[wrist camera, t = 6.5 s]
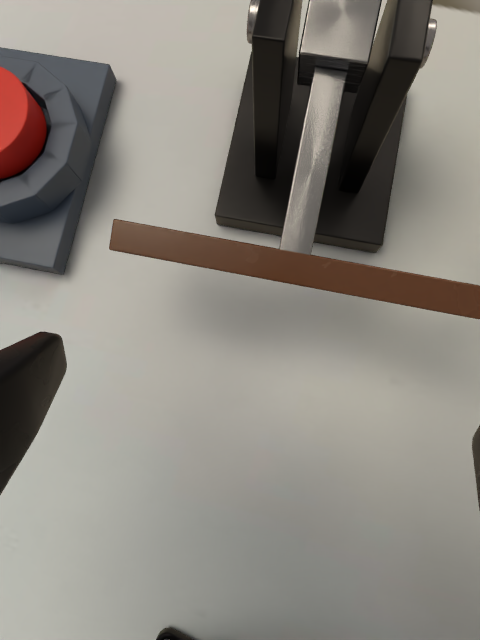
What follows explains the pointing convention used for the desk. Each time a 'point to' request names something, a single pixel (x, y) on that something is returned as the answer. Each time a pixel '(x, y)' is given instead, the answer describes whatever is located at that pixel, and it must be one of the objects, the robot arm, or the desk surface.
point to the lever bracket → (351, 133)
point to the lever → (311, 186)
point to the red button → (18, 126)
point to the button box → (53, 158)
